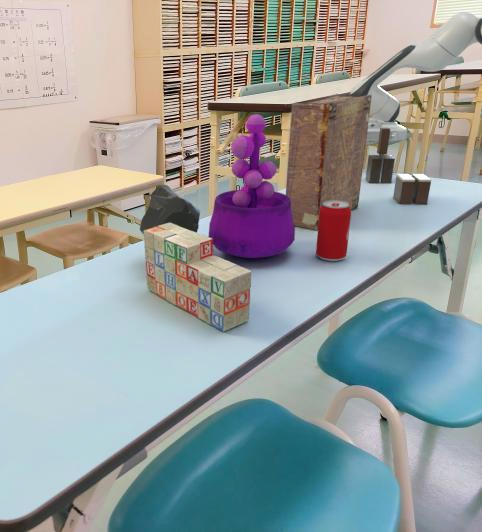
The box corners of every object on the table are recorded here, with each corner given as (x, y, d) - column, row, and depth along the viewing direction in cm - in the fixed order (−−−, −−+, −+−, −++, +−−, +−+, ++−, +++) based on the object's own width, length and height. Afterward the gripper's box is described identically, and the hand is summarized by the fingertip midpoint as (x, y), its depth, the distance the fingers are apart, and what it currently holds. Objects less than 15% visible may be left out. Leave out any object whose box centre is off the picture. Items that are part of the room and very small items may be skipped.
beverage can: (348, 254, 113) (355, 201, 108) (342, 264, 108) (349, 209, 103) (318, 250, 116) (324, 198, 111) (312, 260, 111) (317, 205, 106)
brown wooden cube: (393, 197, 152) (396, 173, 150) (419, 197, 151) (423, 173, 148) (399, 204, 146) (403, 179, 143) (427, 204, 145) (431, 179, 142)
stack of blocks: (250, 320, 87) (253, 253, 82) (223, 333, 84) (224, 264, 79) (171, 279, 104) (169, 221, 99) (146, 288, 100) (142, 228, 95)
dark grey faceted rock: (213, 259, 114) (214, 178, 107) (188, 286, 101) (187, 197, 94) (154, 251, 120) (151, 174, 113) (123, 276, 107) (118, 191, 100)
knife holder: (369, 183, 169) (372, 158, 166) (365, 178, 174) (368, 155, 171) (391, 183, 167) (395, 158, 164) (386, 179, 173) (390, 154, 170)
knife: (375, 182, 169) (383, 129, 162) (372, 179, 173) (379, 127, 167) (383, 182, 168) (391, 129, 162) (380, 179, 173) (387, 127, 166)
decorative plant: (258, 275, 105) (267, 122, 93) (191, 253, 118) (190, 116, 106) (309, 250, 116) (322, 111, 105) (242, 233, 129) (247, 107, 117)
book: (326, 202, 151) (337, 93, 139) (358, 207, 145) (372, 94, 133) (283, 224, 134) (291, 103, 122) (317, 231, 128) (329, 104, 116)
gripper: (339, 123, 186) (346, 128, 173) (401, 121, 182) (412, 127, 169) (338, 141, 188) (344, 147, 176) (398, 140, 184) (409, 146, 172)
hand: (378, 137), depth 173 cm, fingers open, 8 cm apart
